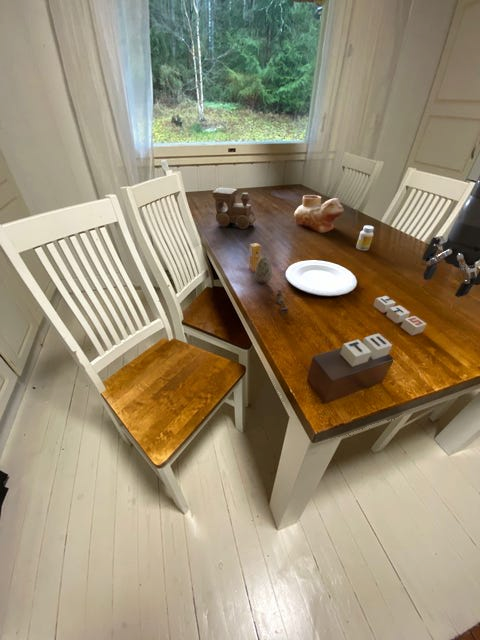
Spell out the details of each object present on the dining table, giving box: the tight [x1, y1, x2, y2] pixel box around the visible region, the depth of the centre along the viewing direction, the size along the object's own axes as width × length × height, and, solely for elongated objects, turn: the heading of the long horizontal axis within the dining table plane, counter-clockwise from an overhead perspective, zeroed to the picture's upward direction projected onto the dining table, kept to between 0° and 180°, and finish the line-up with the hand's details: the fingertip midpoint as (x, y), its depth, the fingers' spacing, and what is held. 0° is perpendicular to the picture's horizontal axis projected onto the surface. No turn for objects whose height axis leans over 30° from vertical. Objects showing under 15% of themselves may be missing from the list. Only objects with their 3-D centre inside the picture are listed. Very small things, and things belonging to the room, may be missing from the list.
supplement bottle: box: [355, 224, 375, 252], centre depth 118 cm, size 5×5×10 cm
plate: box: [285, 259, 358, 297], centre depth 98 cm, size 25×25×2 cm
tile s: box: [400, 315, 427, 336], centre depth 77 cm, size 4×4×3 cm
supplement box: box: [248, 242, 262, 273], centre depth 102 cm, size 3×4×10 cm
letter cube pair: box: [372, 295, 411, 324], centre depth 83 cm, size 10×4×3 cm, turn 21°
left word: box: [340, 332, 393, 367], centre depth 58 cm, size 4×10×3 cm, turn 111°
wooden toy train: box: [212, 187, 257, 230], centre depth 138 cm, size 20×11×17 cm, turn 72°
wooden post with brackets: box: [275, 288, 289, 313], centre depth 86 cm, size 2×8×4 cm, turn 10°
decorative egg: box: [254, 256, 273, 284], centre depth 94 cm, size 6×6×10 cm
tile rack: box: [306, 340, 395, 405], centre depth 61 cm, size 7×16×8 cm, turn 111°
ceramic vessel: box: [293, 194, 345, 234], centre depth 138 cm, size 14×26×15 cm, turn 41°
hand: (442, 287), depth 67 cm, fingers open, 8 cm apart
